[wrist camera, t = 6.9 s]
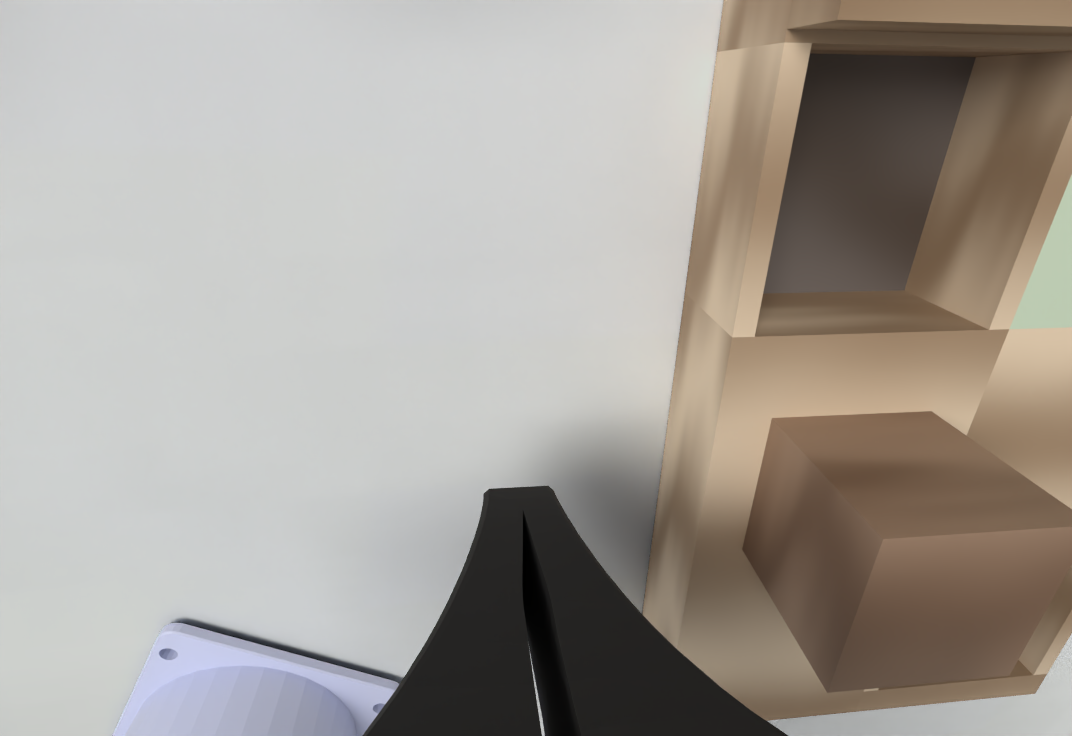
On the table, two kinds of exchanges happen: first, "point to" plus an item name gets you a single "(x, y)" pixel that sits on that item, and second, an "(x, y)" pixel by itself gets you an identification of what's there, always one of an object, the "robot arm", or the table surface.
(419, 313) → the table surface
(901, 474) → the walnut block
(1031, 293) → the pad
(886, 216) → the board
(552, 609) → the robot arm
